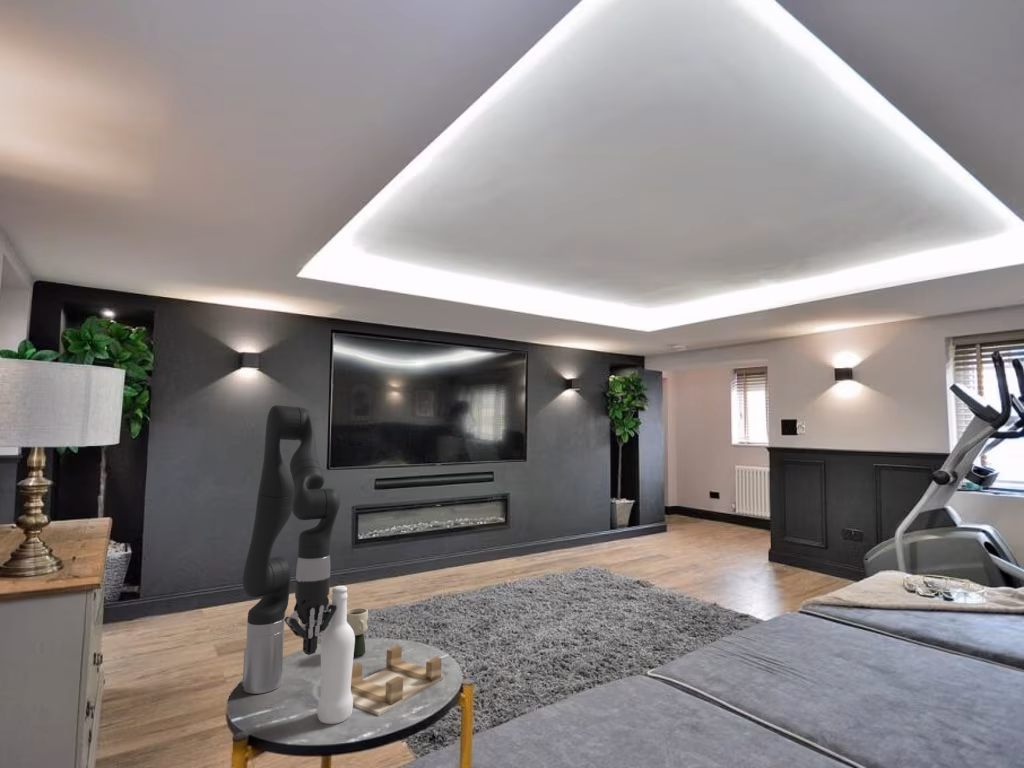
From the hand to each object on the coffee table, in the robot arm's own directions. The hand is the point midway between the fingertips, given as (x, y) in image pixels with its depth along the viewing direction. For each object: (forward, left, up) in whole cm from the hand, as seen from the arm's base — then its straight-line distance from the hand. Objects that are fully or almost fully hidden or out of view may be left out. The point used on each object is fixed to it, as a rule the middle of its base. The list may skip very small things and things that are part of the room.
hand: (309, 653), depth 123 cm
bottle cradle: (0, +26, -17) cm, 31 cm away
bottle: (0, +8, -17) cm, 19 cm away
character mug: (-25, +36, -17) cm, 47 cm away
